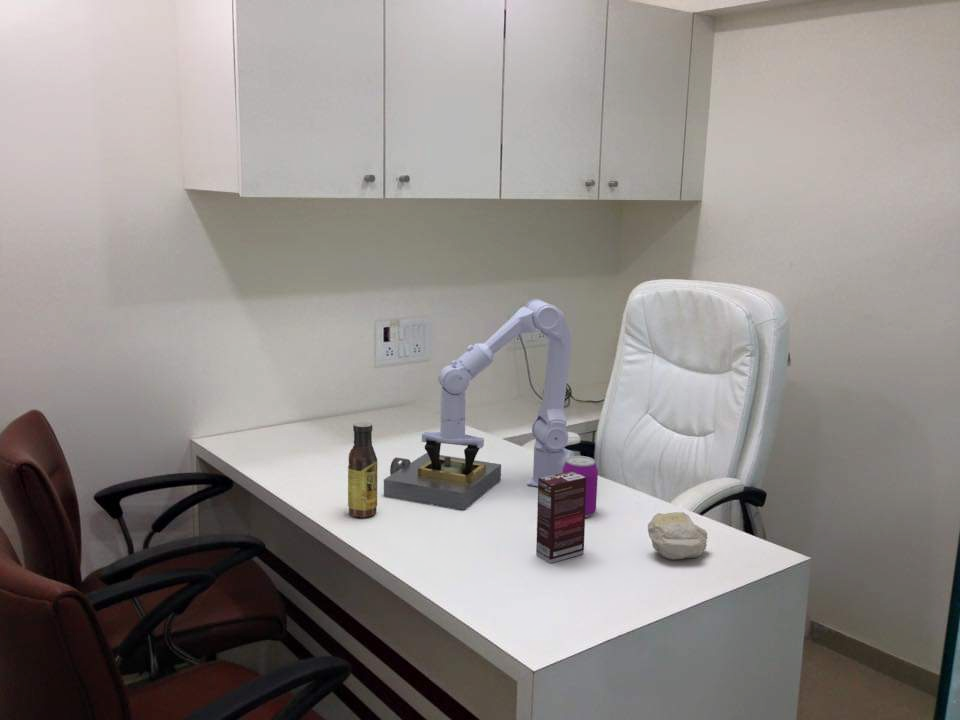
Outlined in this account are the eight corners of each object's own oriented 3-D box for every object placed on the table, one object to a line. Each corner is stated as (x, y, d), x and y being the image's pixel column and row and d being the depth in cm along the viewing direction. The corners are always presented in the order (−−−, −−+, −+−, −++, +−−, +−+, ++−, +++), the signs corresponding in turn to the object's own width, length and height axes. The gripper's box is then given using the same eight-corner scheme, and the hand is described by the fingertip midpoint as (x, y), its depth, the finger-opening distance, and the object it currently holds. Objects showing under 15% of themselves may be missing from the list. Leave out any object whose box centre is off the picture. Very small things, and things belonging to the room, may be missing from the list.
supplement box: (568, 545, 173) (572, 469, 170) (584, 554, 169) (588, 476, 166) (534, 555, 168) (537, 477, 165) (549, 564, 164) (552, 484, 161)
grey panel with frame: (500, 480, 210) (501, 458, 209) (464, 510, 190) (464, 486, 189) (415, 466, 219) (415, 445, 217) (372, 494, 199) (372, 471, 198)
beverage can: (598, 508, 193) (600, 456, 191) (593, 520, 186) (595, 467, 183) (564, 504, 195) (566, 453, 193) (557, 516, 188) (560, 463, 185)
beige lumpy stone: (717, 557, 170) (675, 545, 177) (719, 515, 169) (677, 505, 176) (680, 569, 162) (638, 556, 169) (683, 525, 161) (639, 514, 168)
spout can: (466, 490, 202) (466, 458, 201) (448, 495, 199) (449, 461, 198) (454, 484, 206) (454, 452, 205) (436, 488, 203) (436, 456, 202)
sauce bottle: (371, 520, 183) (371, 429, 179) (343, 517, 185) (342, 427, 181) (381, 509, 190) (381, 421, 186) (354, 506, 191) (353, 419, 187)
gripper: (487, 416, 201) (486, 472, 204) (429, 410, 205) (428, 465, 208) (479, 424, 195) (478, 481, 197) (418, 418, 199) (418, 474, 201)
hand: (452, 474), depth 202 cm, fingers open, 7 cm apart
